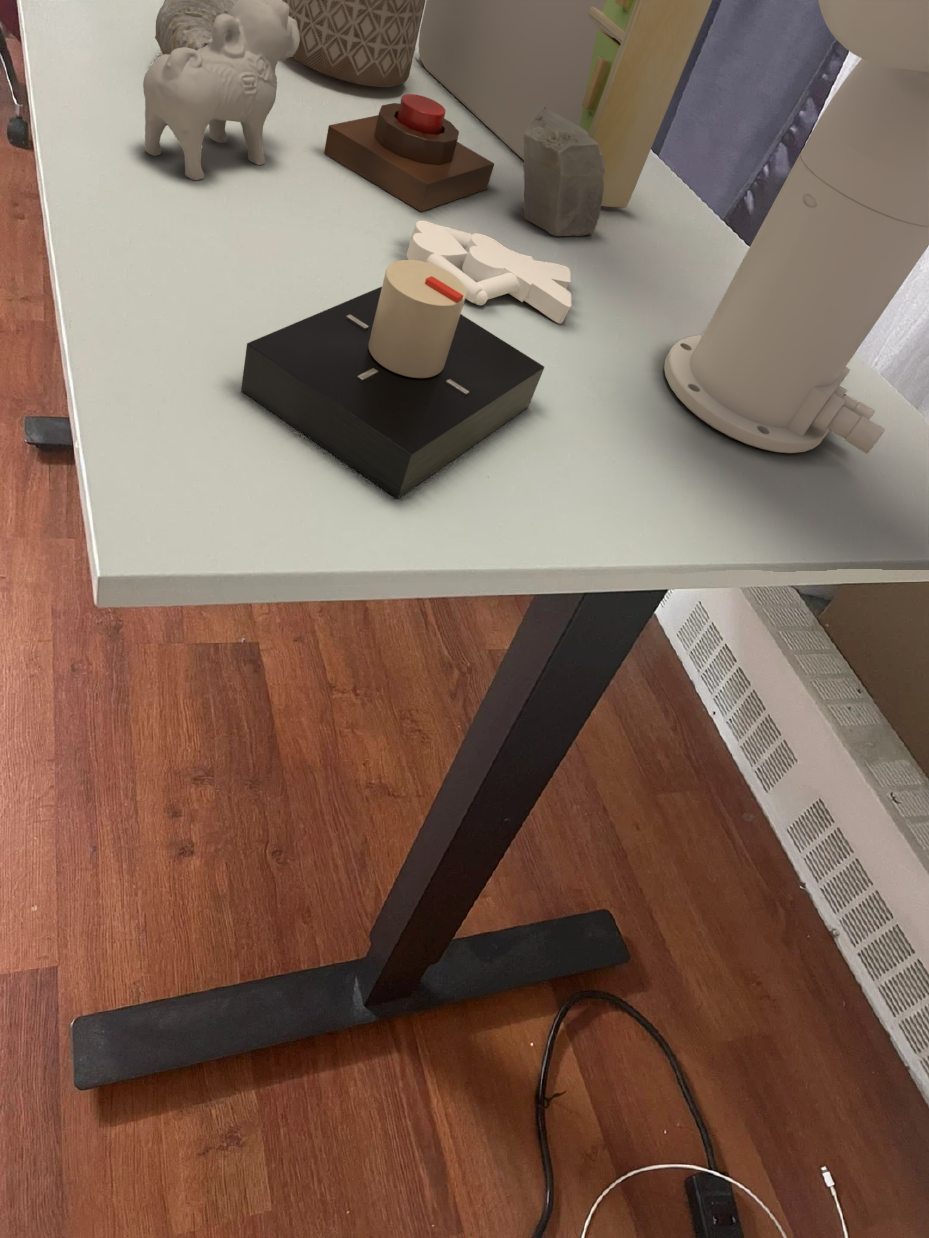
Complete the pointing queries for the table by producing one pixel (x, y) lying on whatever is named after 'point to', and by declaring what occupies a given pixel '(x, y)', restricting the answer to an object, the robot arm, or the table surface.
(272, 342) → the panel
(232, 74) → the dog figurine
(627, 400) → the table surface
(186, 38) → the seashell
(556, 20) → the grey rectangular panel
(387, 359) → the knob
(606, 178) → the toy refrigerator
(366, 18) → the planter
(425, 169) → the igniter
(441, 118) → the button
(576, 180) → the mineral specimen
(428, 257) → the white abstract figurine
